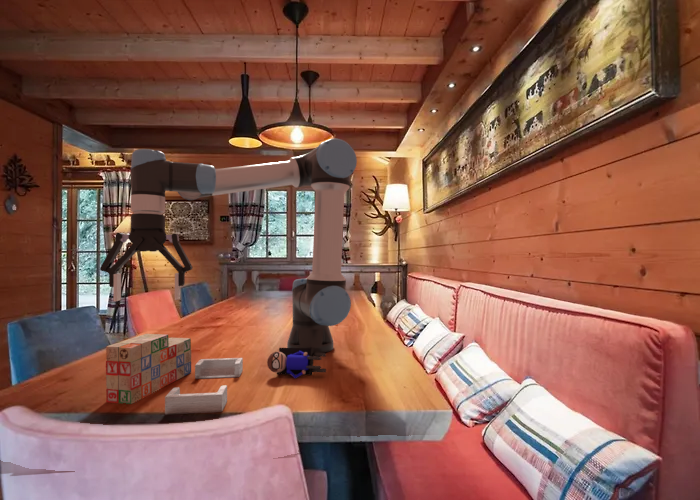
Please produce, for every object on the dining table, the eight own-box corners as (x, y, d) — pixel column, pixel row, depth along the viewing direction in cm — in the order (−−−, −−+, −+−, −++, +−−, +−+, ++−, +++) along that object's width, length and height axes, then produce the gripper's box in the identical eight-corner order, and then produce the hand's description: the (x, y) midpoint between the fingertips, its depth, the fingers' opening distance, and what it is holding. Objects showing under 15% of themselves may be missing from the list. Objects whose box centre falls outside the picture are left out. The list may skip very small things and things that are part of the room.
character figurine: (323, 382, 95) (265, 381, 97) (328, 371, 102) (274, 369, 104) (323, 351, 94) (264, 350, 96) (328, 342, 102) (273, 341, 103)
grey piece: (242, 370, 103) (242, 357, 103) (239, 377, 98) (239, 363, 98) (200, 372, 102) (200, 359, 102) (195, 378, 97) (195, 365, 97)
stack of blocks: (170, 371, 103) (170, 325, 103) (191, 373, 102) (191, 326, 102) (105, 402, 82) (105, 345, 82) (130, 405, 81) (130, 346, 81)
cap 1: (165, 414, 76) (164, 397, 76) (173, 404, 81) (173, 387, 81) (222, 411, 77) (221, 394, 77) (227, 401, 82) (227, 385, 82)
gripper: (204, 216, 101) (203, 296, 101) (97, 214, 96) (97, 299, 96) (199, 213, 94) (199, 300, 94) (84, 211, 88) (83, 303, 88)
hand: (147, 300), depth 95 cm, fingers open, 13 cm apart
